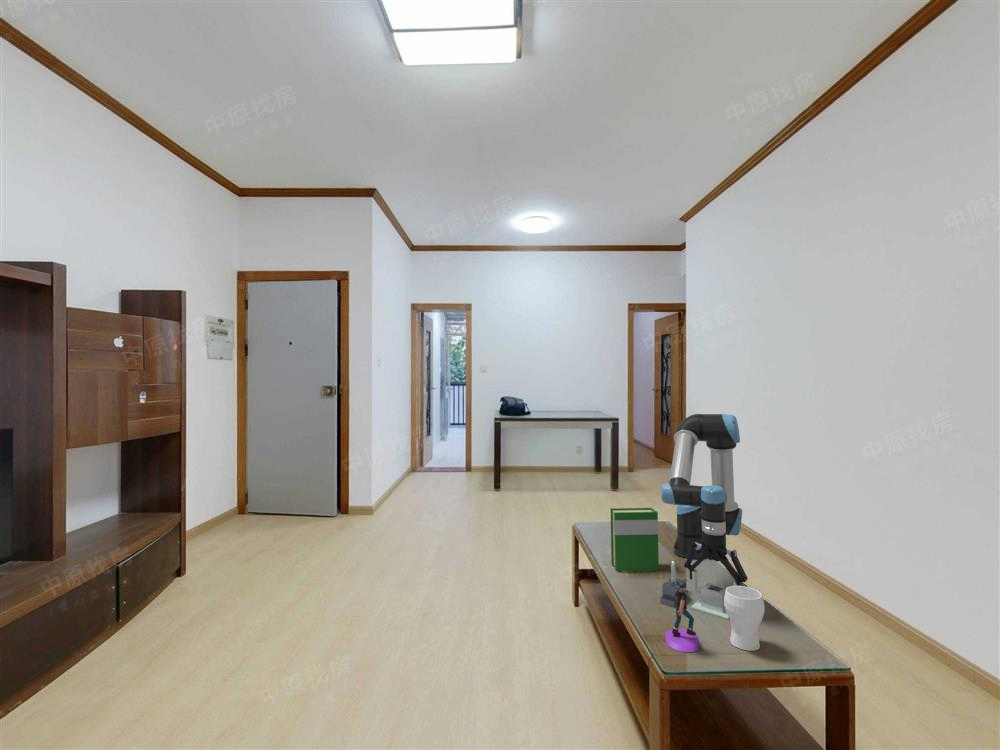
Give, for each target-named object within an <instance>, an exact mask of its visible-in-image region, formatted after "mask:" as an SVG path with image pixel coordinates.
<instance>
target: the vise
mask: <svg viewBox="0 0 1000 750" xmlns="http://www.w3.org/2000/svg"><path fill="white" fill-rule="evenodd" d="M677 562H678V561H677V560H673V559H672V560H670V579H668V581H665V582H663V583H662V584H661V585H662V595H661V596H660V598H659V600H660V601H659V602H660V603H659V604H662V605H664V606H668V607H671V608H676V606H675V604H676V601H677V599H676V597H675V593H676V592H677V590H679V589H676V588H675V586H676V585H678V584H679V583H680V582H684V583H685V584H686V585H687V581H688V579H687V578H683V579H680V578H678V563H677ZM684 593H685V594H686V595H687V598H688V597H689V590H688V589H686V590H685V591H684Z"/></svg>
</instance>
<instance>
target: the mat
mask: <svg viewBox="0 0 1000 750" xmlns="http://www.w3.org/2000/svg"><path fill="white" fill-rule="evenodd" d="M690 610H693V611H694V610H695V611H697V612H700V613H703V614H707V615H711V616H713V617H717V618H719V619H723V620H727V621H729V620H730V619H729V617H728V615H727V612H726V610H725V611H724V612H723V613H721V612H717V611H714V610H711V609H707V608H704V607H701V598H699V599H698V600H696V602H695V603H693V604H692V606H690Z"/></svg>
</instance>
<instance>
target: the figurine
mask: <svg viewBox="0 0 1000 750" xmlns="http://www.w3.org/2000/svg"><path fill="white" fill-rule="evenodd" d="M675 588H676V589H679V590H677V592H676V593H675V597H676V599H677V601H676V604H675V606H676V607H675V614H676V617H675V618H676V619H675V622H674V623H673V624H674V625H673V627H672V629H669V630H667V631H666V632H665V643H666V645H667V646H668V647H669V648H670V649H672V650H675V651H678V652H683V653H693V652H696V651H698V650H699V649H700V638H699V636H698V635H697V631H694V621H695V618H694V617H693V616H692V614H691V613H690V612H689V611H688V610H687V609H688V606H687V601H688V597H687V595H686V594H685V593H684V591H685V590H687V583H686V584H685V583H684V582H680V583H679V584H678V585H676V586H675ZM682 615H683V616H685V617H686V618H687V619H688V625H687V628H686V629H681V628H680V624H681V621H682Z"/></svg>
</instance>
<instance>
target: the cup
mask: <svg viewBox="0 0 1000 750" xmlns="http://www.w3.org/2000/svg"><path fill="white" fill-rule="evenodd" d="M724 606H725V609H726V612H727V615H728V617H729V620H730V625H731V632H730V639H729V640H730V643H731V645H732V646H734V647H736V648H737V649H740V650H744V651H749V652H753V651H757V650H759V649H760V647H761V646H760V639H759V634H758V631H759V626H760V625H761V623H762V621H763V619H764V615H765V601H764V598H763V594H762V593H761V592H760V591H758V590H757V589H755V588H752V587H749V586H744V585H743V586H733V585H731V586H728V587H727V588H726V591H725V595H724Z"/></svg>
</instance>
